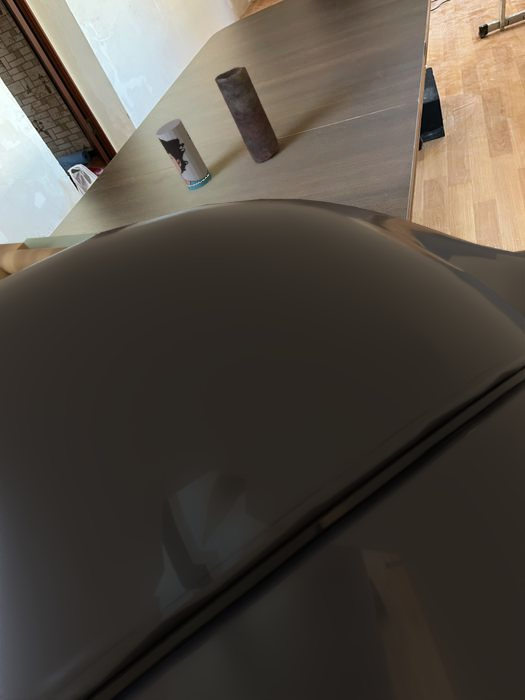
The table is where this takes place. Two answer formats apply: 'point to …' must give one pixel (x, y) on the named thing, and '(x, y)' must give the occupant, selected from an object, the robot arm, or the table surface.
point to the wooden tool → (21, 257)
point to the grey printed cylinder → (183, 153)
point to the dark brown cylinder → (248, 113)
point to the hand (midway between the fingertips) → (174, 315)
